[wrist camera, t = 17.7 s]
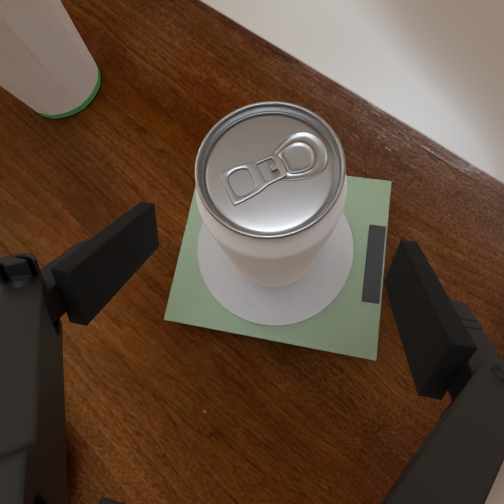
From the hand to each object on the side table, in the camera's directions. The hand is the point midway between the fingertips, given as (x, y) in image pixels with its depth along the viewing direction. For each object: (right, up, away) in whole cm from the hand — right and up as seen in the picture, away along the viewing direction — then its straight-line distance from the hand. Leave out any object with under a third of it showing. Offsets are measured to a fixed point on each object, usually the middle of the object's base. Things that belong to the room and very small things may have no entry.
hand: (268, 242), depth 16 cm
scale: (+1, -1, +10) cm, 10 cm away
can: (+1, 0, +7) cm, 7 cm away
